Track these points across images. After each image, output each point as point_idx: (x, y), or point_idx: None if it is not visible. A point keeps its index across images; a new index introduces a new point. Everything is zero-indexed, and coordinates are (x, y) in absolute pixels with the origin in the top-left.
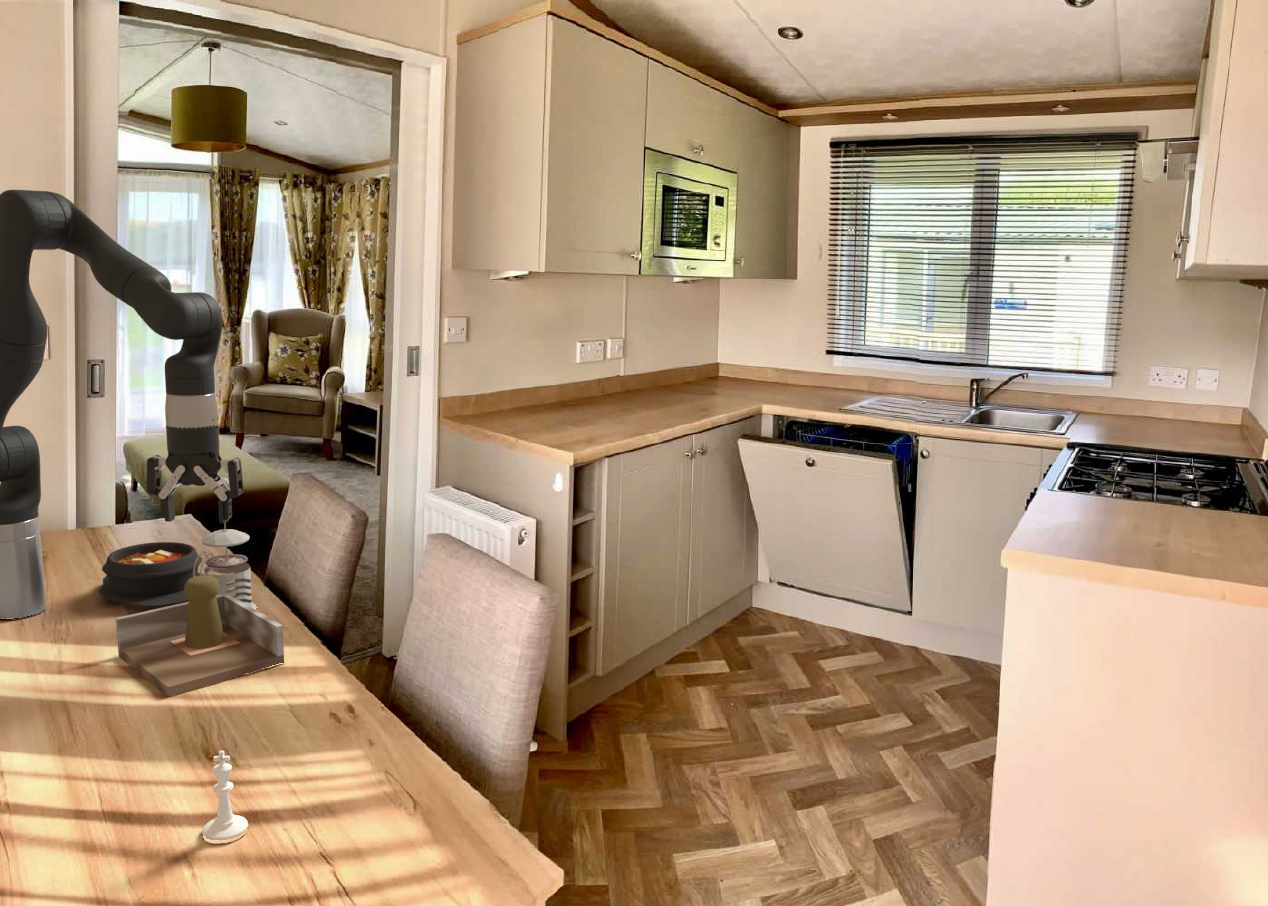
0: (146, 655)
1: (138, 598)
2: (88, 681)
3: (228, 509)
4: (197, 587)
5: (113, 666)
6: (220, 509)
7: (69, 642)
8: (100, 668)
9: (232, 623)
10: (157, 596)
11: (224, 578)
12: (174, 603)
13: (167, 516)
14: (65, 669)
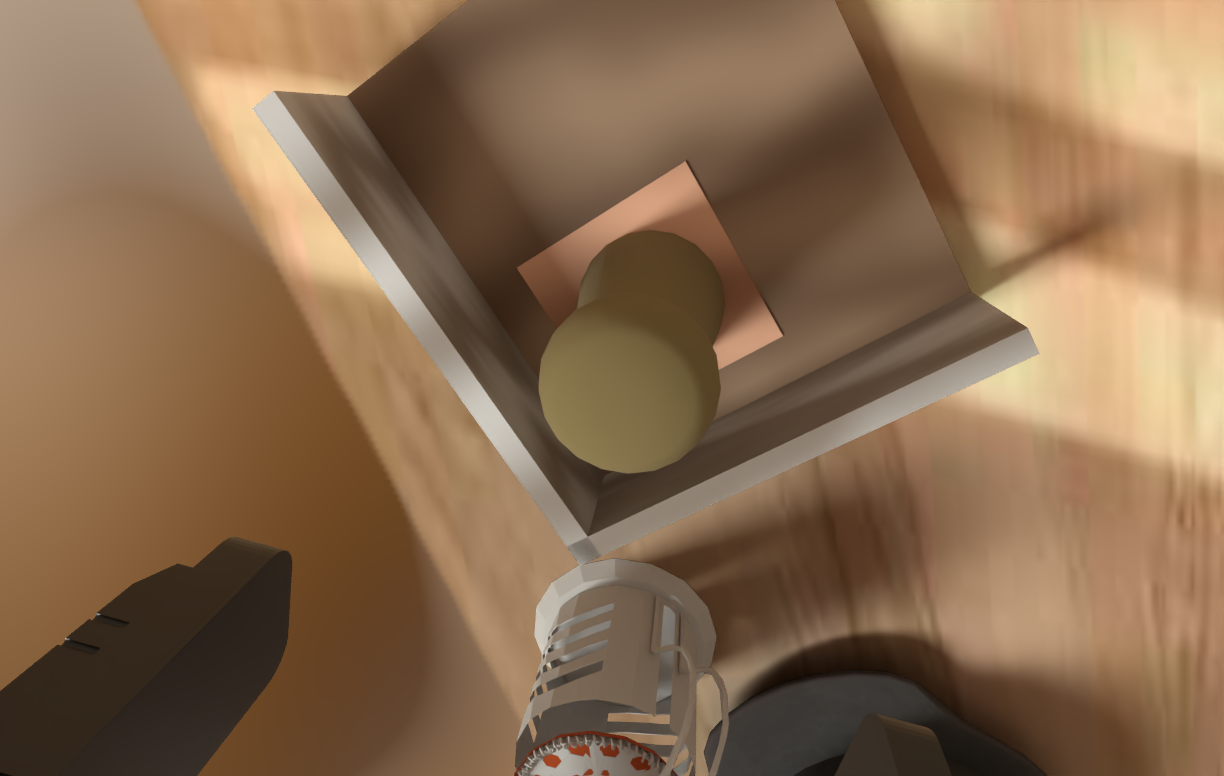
0: (862, 204)
1: None
2: (1074, 56)
3: (44, 663)
4: (635, 311)
5: (981, 205)
6: (133, 663)
7: (1154, 476)
8: (1031, 193)
9: None
10: None
11: (604, 688)
12: (804, 681)
13: (913, 764)
14: (1168, 207)
